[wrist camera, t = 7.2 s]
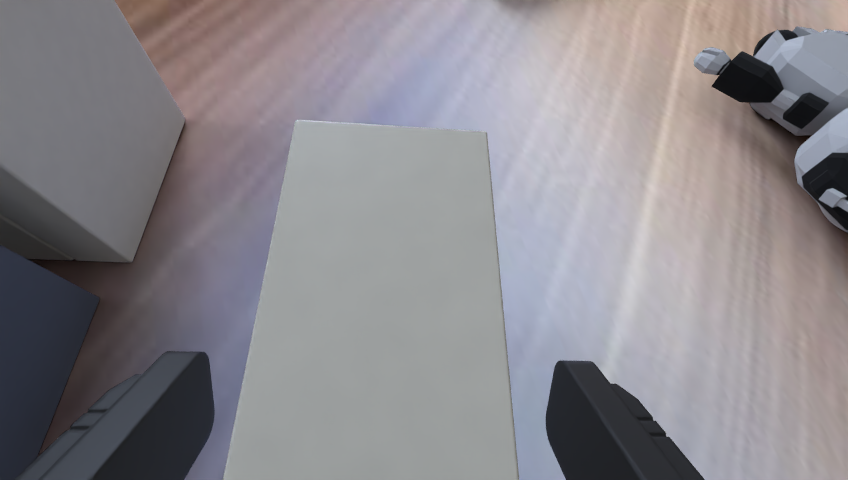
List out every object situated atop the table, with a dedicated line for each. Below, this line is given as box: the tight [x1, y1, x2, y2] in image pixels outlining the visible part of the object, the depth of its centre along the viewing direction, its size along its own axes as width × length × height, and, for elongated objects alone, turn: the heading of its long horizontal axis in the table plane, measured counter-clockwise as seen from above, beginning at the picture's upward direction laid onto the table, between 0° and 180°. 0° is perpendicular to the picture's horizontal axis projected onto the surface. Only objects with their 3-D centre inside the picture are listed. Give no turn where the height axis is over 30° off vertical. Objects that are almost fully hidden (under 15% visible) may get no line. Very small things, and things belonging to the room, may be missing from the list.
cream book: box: [223, 120, 519, 480], centre depth 10 cm, size 3×8×11 cm, turn 0°
